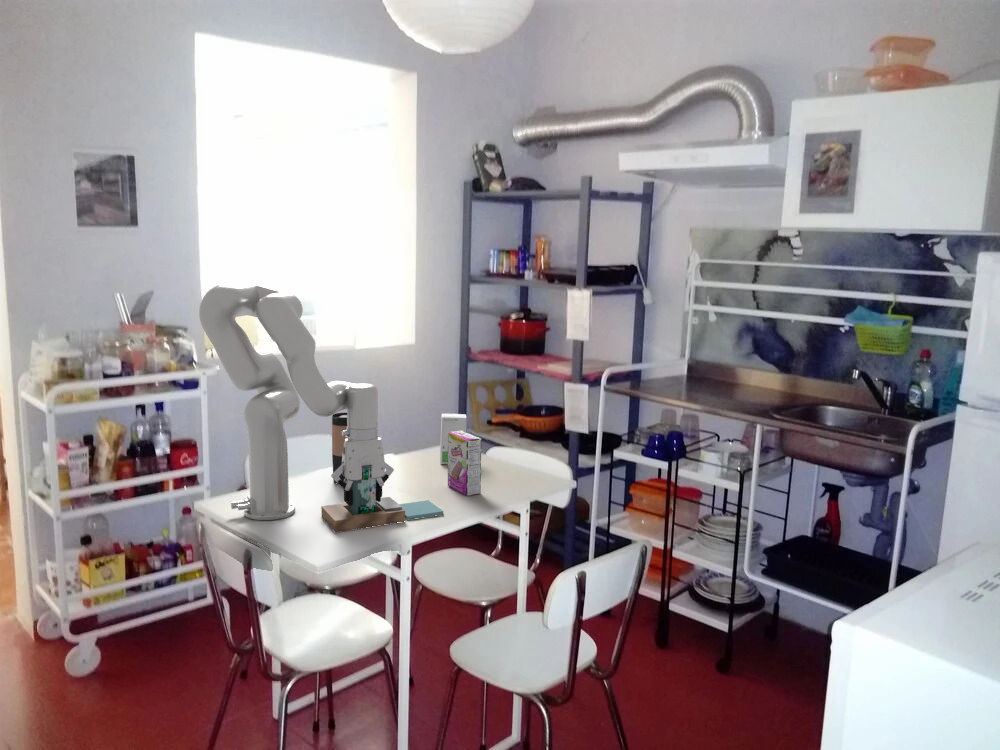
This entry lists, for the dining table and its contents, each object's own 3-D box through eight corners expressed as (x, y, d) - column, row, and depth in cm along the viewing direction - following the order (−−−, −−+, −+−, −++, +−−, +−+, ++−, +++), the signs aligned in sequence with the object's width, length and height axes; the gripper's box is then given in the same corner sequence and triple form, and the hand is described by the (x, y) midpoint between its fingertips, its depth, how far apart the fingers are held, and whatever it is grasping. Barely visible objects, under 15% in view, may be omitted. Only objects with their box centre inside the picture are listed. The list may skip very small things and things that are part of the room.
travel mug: (361, 478, 235) (360, 412, 232) (356, 485, 228) (355, 418, 225) (335, 477, 235) (335, 412, 232) (329, 484, 228) (328, 417, 225)
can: (366, 525, 195) (365, 467, 193) (346, 521, 198) (345, 463, 195) (379, 518, 201) (379, 461, 198) (360, 514, 203) (359, 458, 201)
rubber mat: (407, 520, 200) (407, 516, 199) (393, 508, 208) (393, 505, 208) (443, 514, 204) (443, 511, 204) (428, 503, 213) (428, 500, 213)
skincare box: (440, 464, 252) (440, 417, 250) (439, 459, 258) (440, 413, 256) (466, 464, 253) (466, 417, 250) (465, 459, 259) (466, 413, 257)
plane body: (335, 532, 190) (335, 518, 189) (321, 517, 200) (321, 503, 200) (405, 522, 198) (405, 508, 198) (388, 508, 209) (388, 495, 208)
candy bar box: (446, 486, 229) (447, 431, 226) (461, 484, 232) (462, 429, 229) (466, 497, 220) (467, 439, 217) (481, 494, 222) (482, 437, 220)
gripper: (332, 440, 188) (333, 511, 191) (400, 433, 197) (400, 502, 199) (324, 433, 195) (325, 502, 198) (390, 427, 203) (390, 493, 206)
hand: (363, 501), depth 198 cm, fingers open, 6 cm apart
